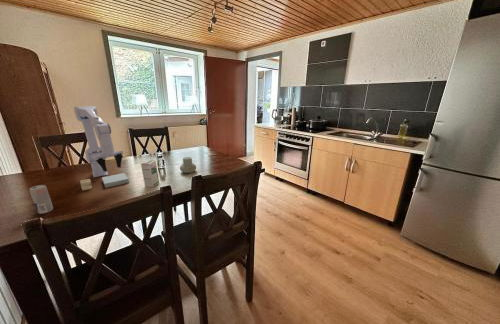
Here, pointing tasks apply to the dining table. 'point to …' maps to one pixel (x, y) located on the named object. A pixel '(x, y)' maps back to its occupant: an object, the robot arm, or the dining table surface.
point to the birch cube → (86, 184)
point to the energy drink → (41, 199)
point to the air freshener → (187, 165)
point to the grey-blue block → (115, 180)
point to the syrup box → (150, 173)
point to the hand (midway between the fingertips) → (112, 169)
